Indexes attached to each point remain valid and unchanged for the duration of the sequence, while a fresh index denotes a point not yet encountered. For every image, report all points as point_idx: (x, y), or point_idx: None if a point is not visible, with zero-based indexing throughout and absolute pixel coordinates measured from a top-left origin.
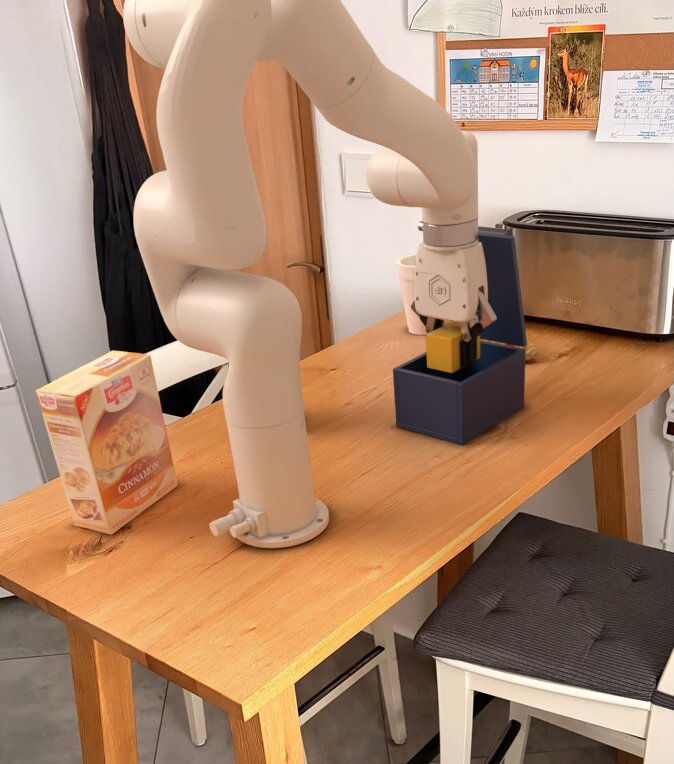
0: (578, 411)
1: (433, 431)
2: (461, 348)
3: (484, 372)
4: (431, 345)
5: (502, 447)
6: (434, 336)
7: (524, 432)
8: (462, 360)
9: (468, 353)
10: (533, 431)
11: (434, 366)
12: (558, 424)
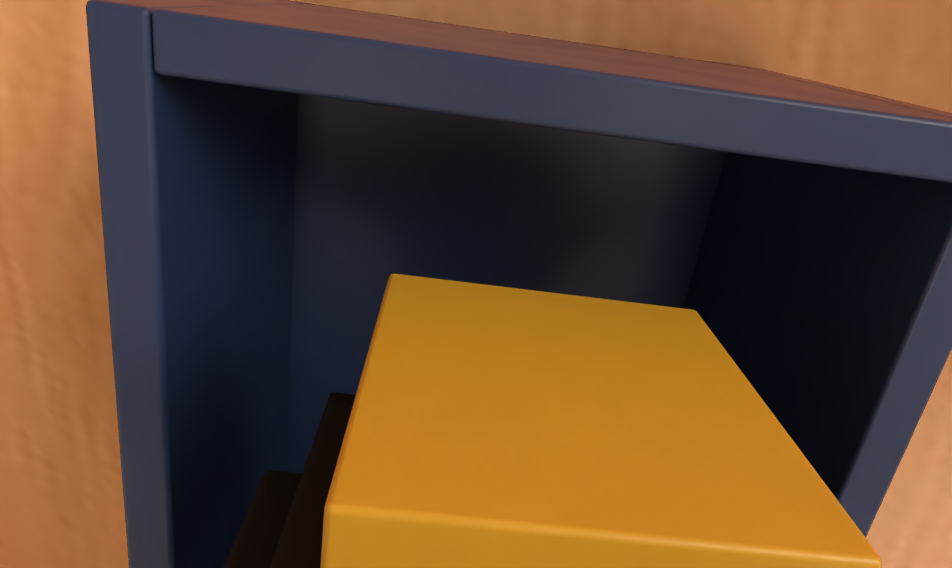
0: (34, 550)
1: (491, 31)
2: (312, 521)
3: (116, 383)
4: (710, 441)
5: (72, 75)
6: (698, 542)
7: (94, 283)
8: (328, 428)
9: (275, 517)
10: (64, 309)
11: (610, 308)
12: (17, 415)
